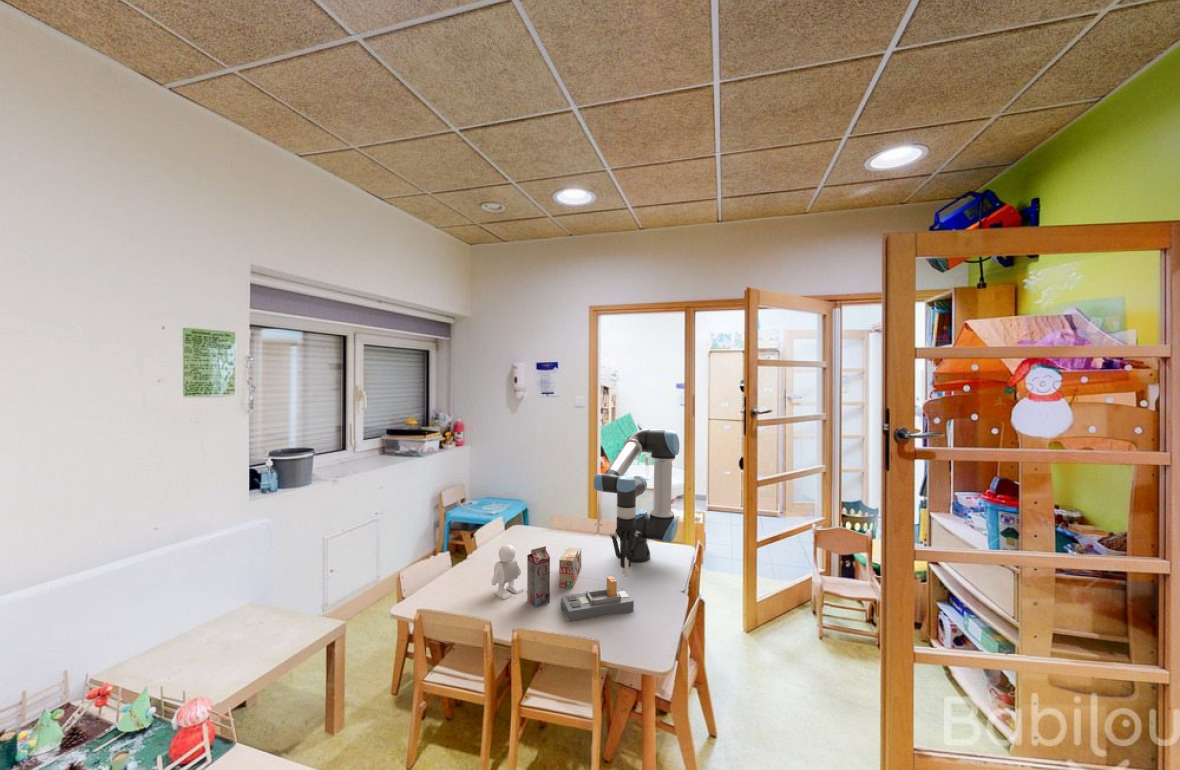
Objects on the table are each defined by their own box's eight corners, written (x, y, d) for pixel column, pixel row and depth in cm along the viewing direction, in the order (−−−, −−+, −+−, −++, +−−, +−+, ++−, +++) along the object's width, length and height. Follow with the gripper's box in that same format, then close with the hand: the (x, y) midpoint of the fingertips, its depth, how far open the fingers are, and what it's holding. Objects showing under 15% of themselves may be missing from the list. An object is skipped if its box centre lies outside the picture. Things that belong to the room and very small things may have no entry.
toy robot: (499, 601, 184) (499, 552, 183) (487, 593, 190) (487, 546, 190) (526, 589, 194) (526, 543, 194) (514, 582, 200) (514, 537, 200)
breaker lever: (612, 592, 183) (612, 575, 183) (616, 598, 178) (616, 580, 178) (606, 593, 182) (606, 575, 182) (610, 599, 178) (610, 581, 178)
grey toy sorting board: (622, 596, 188) (622, 583, 188) (633, 611, 177) (633, 597, 177) (561, 605, 181) (561, 592, 180) (568, 621, 169) (568, 607, 169)
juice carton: (549, 602, 183) (549, 548, 183) (535, 607, 179) (535, 552, 179) (541, 595, 189) (541, 543, 188) (527, 600, 185) (527, 547, 184)
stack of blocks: (568, 566, 218) (568, 541, 217) (581, 567, 217) (581, 541, 216) (559, 587, 196) (559, 559, 196) (573, 588, 196) (573, 560, 195)
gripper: (637, 512, 187) (636, 569, 187) (607, 514, 183) (606, 572, 183) (645, 517, 180) (644, 576, 180) (614, 520, 176) (613, 581, 176)
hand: (625, 574), depth 182 cm, fingers closed
